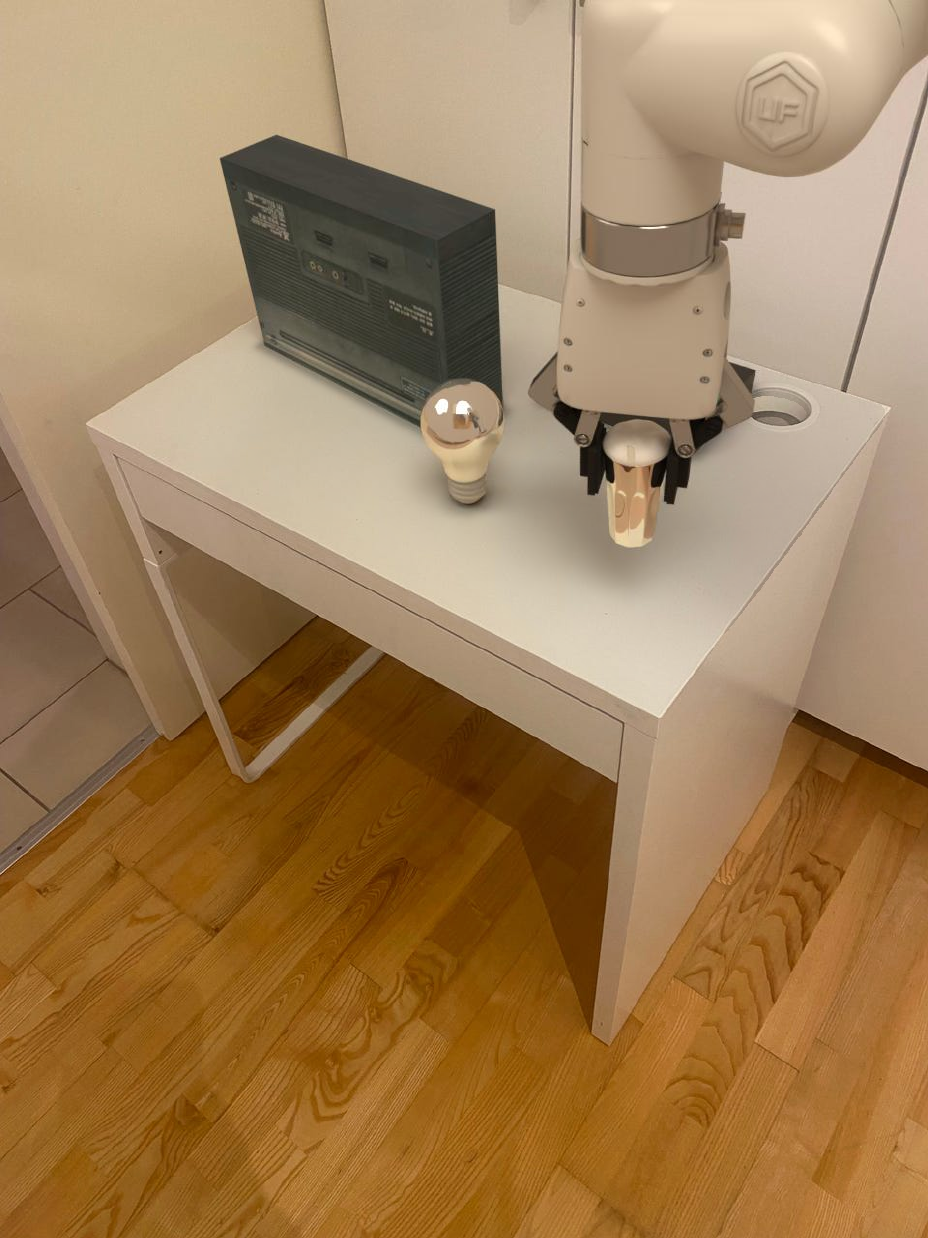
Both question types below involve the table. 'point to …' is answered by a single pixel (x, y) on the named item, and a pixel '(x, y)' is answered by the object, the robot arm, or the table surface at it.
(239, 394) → the table surface
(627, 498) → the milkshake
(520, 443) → the table surface
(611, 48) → the robot arm
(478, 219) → the cassette player
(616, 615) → the table surface
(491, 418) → the light bulb
